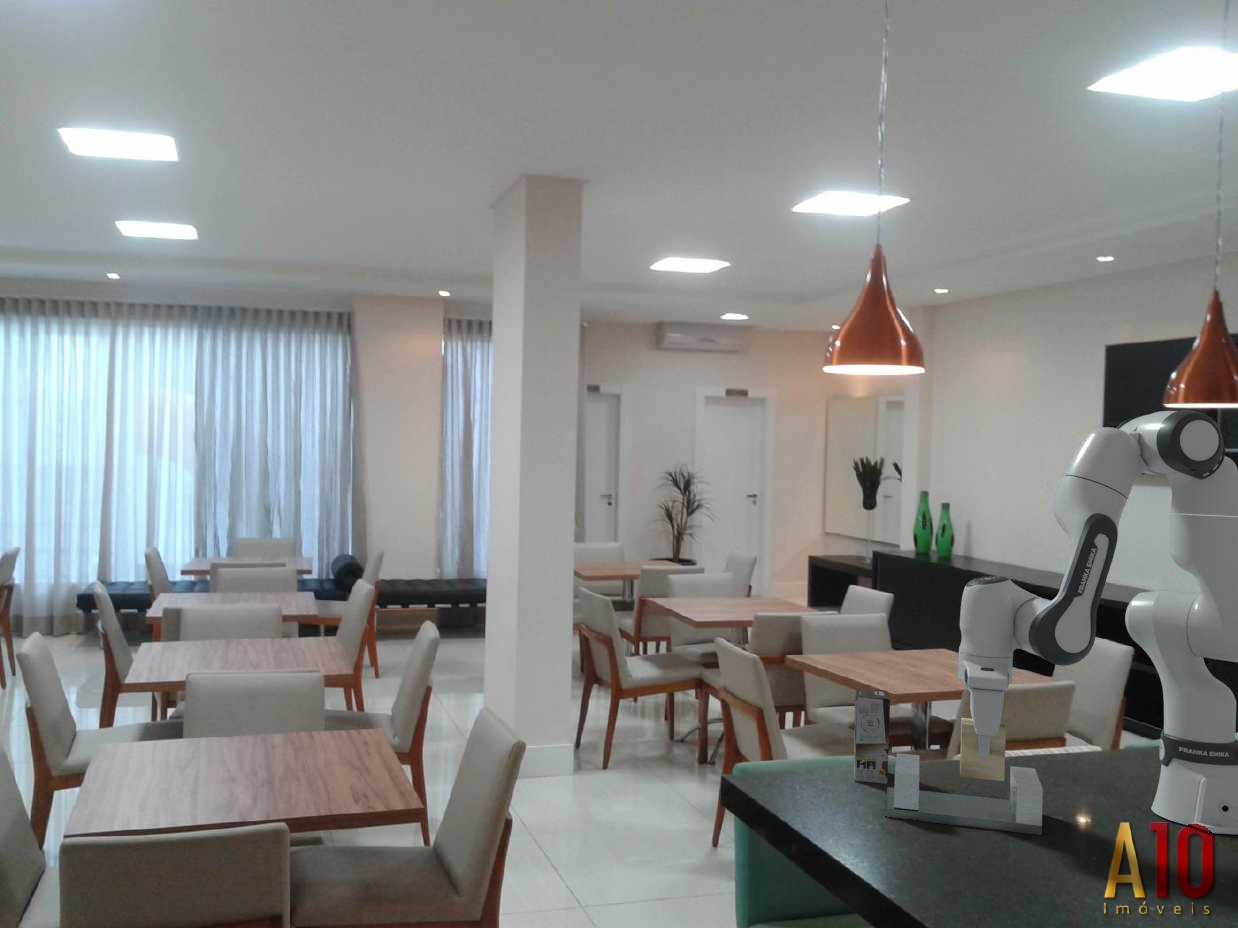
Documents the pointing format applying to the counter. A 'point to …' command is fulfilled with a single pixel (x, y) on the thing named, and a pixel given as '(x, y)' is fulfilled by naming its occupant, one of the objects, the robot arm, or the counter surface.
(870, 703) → the coffee box
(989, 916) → the counter surface
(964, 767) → the maple block
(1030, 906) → the counter surface
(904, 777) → the block
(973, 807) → the vise base
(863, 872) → the counter surface
